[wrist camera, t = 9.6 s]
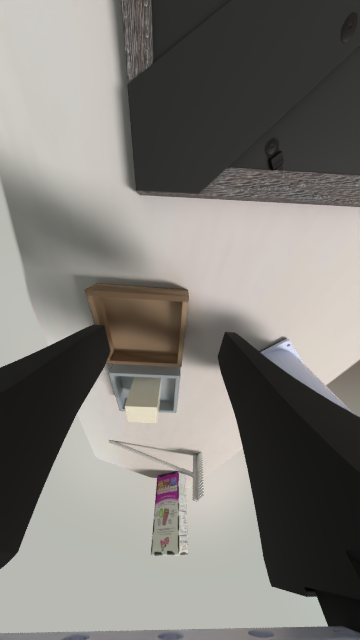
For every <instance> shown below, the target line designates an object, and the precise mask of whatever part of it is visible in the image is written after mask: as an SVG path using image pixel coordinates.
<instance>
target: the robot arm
mask: <svg viewBox="0 0 360 640" xmlns="http://www.w3.org/2000/svg"><path fill="white" fill-rule="evenodd" d="M110 352H111V350H110V346H109V341H108V337H107V333H106V329H105V325H92V326H89V327H87V328H85V329H83V330H80V331H78V332H76V333H74V334H72V335H70V336H68V337H66V338H64V339H62V340H60V341H58V342H56V343H54V344H52V345H50V346H48V347H46V348H44V349H41V350H40V351H37V352H35V353H33V354H31V355H29V356H26V357H24V358H22V359H20V360H17V361H15V362H13V363H10V364H8V365H6V366H3V367H1V368H0V569H1V568H2V567H4V566H5V565H6V564H7V563H8V562H9V561H10V560H11V559H12V558H13V557H14V556H15V555H16V553H17V552H18V550H19V548H20V545H21V542H22V539H23V537H24V534H25V531H26V529H27V527H28V524H29V522H30V519H31V517H32V514H33V511H34V509H35V506H36V504H37V501H38V498H39V496H40V494H41V491H42V489H43V487H44V484H45V482H46V480H47V477H48V475H49V473H50V470H51V468H52V466H53V463H54V461H55V459H56V457H57V454H58V452H59V450H60V448H61V446H62V443H63V441H64V439H65V437H66V435H67V433H68V431H69V429H70V427H71V424H72V422H73V420H74V418H75V416H76V414H77V412H78V411H79V409H80V407H81V405H82V403H83V402H84V400H85V398H86V397H87V395H88V393H89V392H90V390H91V388H92V387H93V385H94V383H95V382H96V380H97V378H98V377H99V375H100V373H101V372H102V370H103V368H104V366H105V364H106V362H107V360H108V357H109V355H110ZM218 360H219V366H220V370H221V374H222V377H223V380H224V383H225V386H226V389H227V392H228V395H229V398H230V401H231V404H232V407H233V410H234V413H235V417H236V420H237V424H238V429H239V433H240V437H241V441H242V445H243V450H244V454H245V459H246V464H247V468H248V473H249V478H250V483H251V488H252V494H253V498H254V504H255V510H256V515H257V521H258V527H259V532H260V538H261V544H262V550H263V557H264V561H265V564H266V569H267V573H268V576H269V580H270V583H271V586H272V587H276V588H279V589H282V590H286V591H289V592H292V593H296V594H300V595H303V596H306V597H308V596H309V597H314V596H315V597H316V596H317V598H318V600H319V603H320V606H321V608H322V611H323V614H324V616H325V619H326V621H327V624H328V627H289V628H288V627H283V628H238V629H237V628H236V629H192V630H191V629H189V630H143V631H98V632H97V631H95V632H48V633H2V634H1V633H0V640H360V417H358V416H357V415H356V414H354V413H353V412H352V411H351V410H350V409H348V408H347V407H346V406H345V405H344V404H343V403H342V402H341V401H340V400H339V399H338V398H337V397H336V396H335V395H334V394H333V393H332V391H331V390H329V389H328V387H327V386H326V385H325V384H324V383H323V382H322V381H321V380H320V379H319V378H318V377H317V376H316V375H315V374H314V373H313V372H312V371H311V370H310V369H309V368H308V367H307V366H306V365H305V364H304V363H303V362H302V360H301V358H300V356H299V355H298V353H297V351H296V350H295V348H294V346H293V345H292V343H291V341H290V340H289V339H285V340H283V341H281V342H279V343H277V344H275V345H273V346H271V347H269V348H267V349H265V350H263V351H261V352H259V351H258V350H256V349H255V348H254V347H253V346H251V345H250V344H249V343H248V342H247V341H245V340H244V339H243V338H242V337H240V336H239V335H238V334H236V333H233V332H225V333H224V337H223V340H222V344H221V347H220V351H219V354H218Z"/></svg>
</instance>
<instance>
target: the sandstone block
mask: <svg viewBox="0 0 360 640" xmlns="http://www.w3.org/2000/svg"><path fill="white" fill-rule="evenodd" d="M160 397H161V378H154V377H134V380H133V383H132V386H131V389H130V392H129V395H128V398H127V401H126V404H125V410H126V414H127V418H128V422H148V423H157V421H158V413H159V405H160Z"/></svg>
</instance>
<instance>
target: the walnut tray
mask: <svg viewBox="0 0 360 640" xmlns="http://www.w3.org/2000/svg"><path fill="white" fill-rule="evenodd" d="M85 293H86V296H87V300H88V303H89V307H90V310H91V314H92V317H93V320H94V324H95V325H105V329H106V333H107V337H108V341H109V346H110V350H111V352H110V355H109V357H108V360H107V362H106V363H109V364H130V365H151V366H172V367H181V365H182V356H183V346H184V337H185V328H186V319H187V309H188V300H189V295H188V290H185V289H171V288H156V287H141V286H126V285H111V284H95V285H93V286H91V287H89V288H88V289H86V290H85Z"/></svg>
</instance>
